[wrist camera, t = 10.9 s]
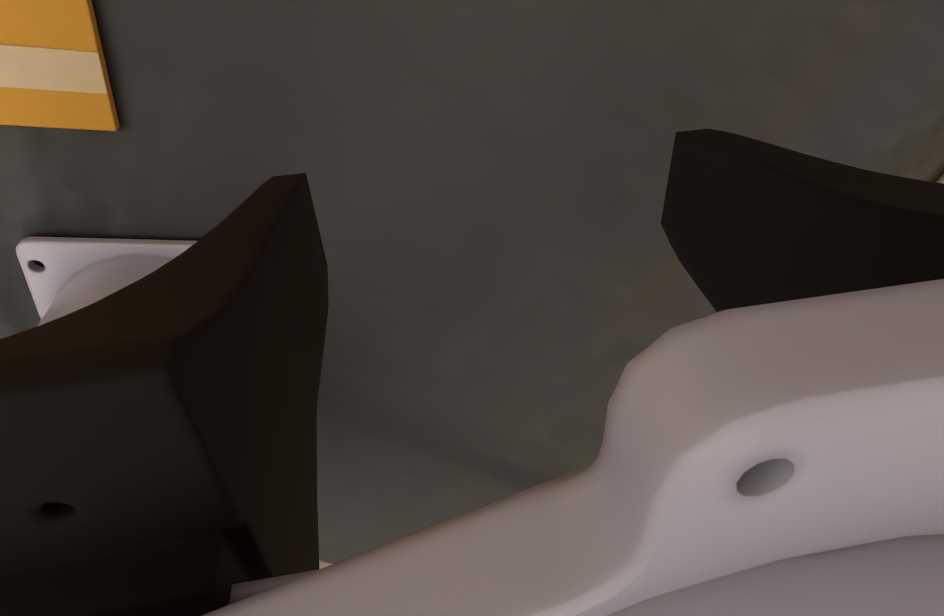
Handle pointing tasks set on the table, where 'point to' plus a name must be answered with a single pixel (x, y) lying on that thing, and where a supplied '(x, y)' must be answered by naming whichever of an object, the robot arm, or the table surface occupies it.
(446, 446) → the table surface
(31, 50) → the towel
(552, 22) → the table surface
